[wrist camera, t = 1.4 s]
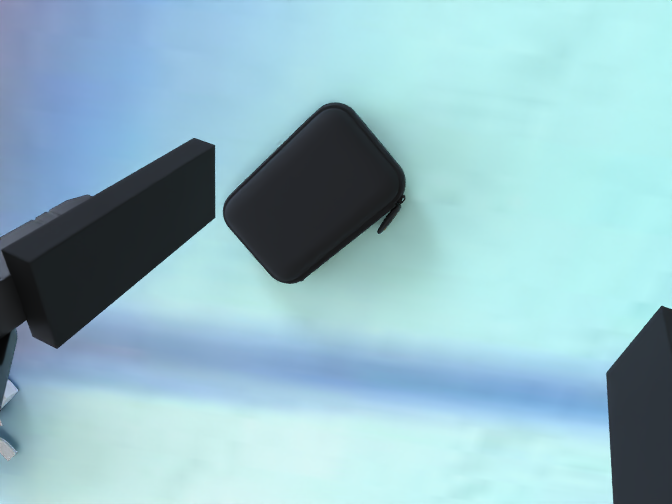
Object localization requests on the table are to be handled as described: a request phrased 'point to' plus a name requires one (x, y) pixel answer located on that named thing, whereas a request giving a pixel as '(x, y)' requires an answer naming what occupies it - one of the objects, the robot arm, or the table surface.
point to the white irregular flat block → (3, 445)
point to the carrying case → (315, 194)
